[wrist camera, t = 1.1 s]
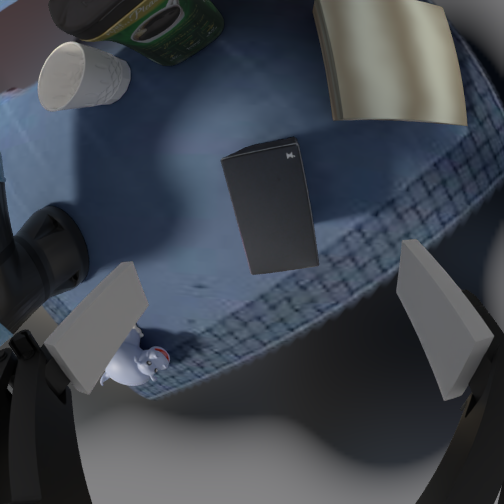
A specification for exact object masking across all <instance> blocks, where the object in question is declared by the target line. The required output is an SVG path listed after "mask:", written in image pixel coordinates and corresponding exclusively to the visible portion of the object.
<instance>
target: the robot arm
mask: <svg viewBox="0 0 504 504" xmlns="http://www.w3.org/2000/svg"><path fill="white" fill-rule="evenodd" d="M5 182H6V178H5V177H4V172H3V164H2V156H1V153H0V346H1V345H2V344H3V343H5V342H6V341H7V340H8V339H9V338H10V337H12V338H11V340H10V342H9V345H10V347H11V348H12V350H13V351H14V353H15V354H16V355H15V354H14V353H13V351H12V350H11V349H10V348H5V349H2V351H0V504H92V502H91V498H90V495H89V492H88V488H87V484H86V481H85V476H84V473H83V468H82V464H81V459H80V455H79V449H78V443H77V437H76V431H75V424H74V417H73V407H72V396H71V390H70V389H69V387H68V386H67V385H68V384H69V383H70V382H71V383H72V384H73V385H74V387H75V388H76V389H77V390H78V391H80V392H83V393H86V394H90V392H91V391H92V389H93V388H94V386H95V384H96V383H97V381H98V380H99V378H100V376H101V375H102V373H103V372H104V370H105V369H106V367H107V366H108V364H109V363H110V361H111V359H112V358H113V356H114V355H115V353H116V352H117V350H118V349H119V347H120V346H121V344H122V343H123V341H124V340H125V339H126V337H127V336H128V334H129V333H130V331H131V330H132V328H133V327H134V325H135V324H136V323H137V321H138V320H139V318H140V317H141V315H142V314H143V313H144V311H145V310H146V308H147V307H148V305H149V304H148V301H147V299H146V296H145V294H144V291H143V288H142V286H141V283H140V280H139V278H138V275H137V272H136V269H135V266H134V263H133V261H131V262H121V263H120V264H119V265H118V266H117V267H116V268H115V269H114V270H113V271H112V272H111V273H110V274H109V275H108V276H107V277H106V278H105V279H104V280H103V281H102V282H100V283H99V284H98V285H97V286H96V287H95V288H94V289H93V290H92V291H91V292H90V293H89V294H88V295H87V296H86V297H85V298H84V299H83V301H82V302H81V303H80V304H79V305H78V306H77V307H76V308H75V309H74V310H73V311H72V312H71V313H70V314H69V315H68V316H67V317H66V318H65V319H64V321H63V322H62V323H61V324H60V325H59V326H58V327H57V328H56V329H55V331H53V333H52V334H51V335H50V336H49V337H48V338H47V339H46V341H45V342H44V344H43V346H42V347H41V348H40V347H39V345H38V344H37V342H36V341H35V339H34V337H33V336H32V334H31V332H30V331H29V330H22V331H20V332H18V333H16V334H15V335H14V336H13V334H14V333H15V332H16V331H17V330H18V329H19V327H21V326H22V324H23V323H24V322H25V321H26V320H27V319H28V318H29V317H30V316H31V315H32V314H33V313H34V312H35V311H36V310H37V309H38V308H39V307H40V306H41V305H42V304H43V303H44V302H45V301H46V300H47V299H49V298H50V297H53V296H55V295H58V294H61V293H63V292H66V291H69V290H72V289H74V288H75V287H77V286H78V285H79V284H80V283H81V282H82V281H83V280H84V279H85V277H86V276H87V273H88V268H89V257H88V251H87V247H86V244H85V241H84V239H83V236H82V234H81V232H80V230H79V229H78V227H77V225H76V224H75V222H74V221H73V220H72V219H71V218H70V216H69V215H68V214H66V213H65V212H64V211H63V210H61V209H59V208H57V207H54V206H47V207H44V208H42V209H40V210H38V211H36V212H35V213H34V214H33V215H32V216H31V217H30V218H29V219H28V220H27V221H26V223H25V224H24V225H23V226H22V228H21V229H20V230H19V231H18V232H17V234H16V235H15V236H13V233H12V228H11V223H10V218H9V212H8V206H7V199H6V191H5ZM396 292H397V294H398V296H399V298H400V300H401V302H402V304H403V306H404V308H405V310H406V312H407V314H408V316H409V318H410V320H411V322H412V324H413V326H414V328H415V331H416V333H417V335H418V337H419V339H420V342H421V344H422V346H423V348H424V351H425V353H426V355H427V358H428V360H429V362H430V365H431V367H432V370H433V372H434V375H435V377H436V380H437V383H438V385H439V388H440V391H441V393H442V396H443V399H444V401H445V400H449V399H452V398H455V397H458V396H461V395H462V394H463V392H464V391H465V389H466V388H467V386H468V384H469V386H470V388H471V391H472V393H471V394H470V396H469V397H468V399H467V400H466V402H465V403H464V404H463V406H462V407H461V409H460V410H461V411H462V410H463V409H464V408H465V409H464V412H463V414H462V417H461V419H460V422H459V424H458V427H457V429H456V431H455V434H454V436H453V438H452V440H451V442H450V445H449V447H448V449H447V451H446V453H445V455H444V457H443V459H442V461H441V462H440V464H439V466H438V468H437V470H436V472H435V473H434V475H433V477H432V478H431V480H430V482H429V484H428V485H427V487H426V488H425V490H424V492H423V493H422V495H421V496H420V498H419V499H418V501H417V502H416V504H494V502H495V500H496V498H497V496H498V493H499V491H500V488H501V486H502V488H501V492H500V496H499V500H498V504H504V333H503V332H502V330H501V329H500V327H499V326H498V325H497V323H496V322H495V320H494V319H493V318H492V316H491V315H490V314H489V313H488V311H487V310H486V308H485V307H484V306H483V304H482V303H481V302H480V300H479V299H478V298H477V297H476V296H475V295H474V294H472V293H471V292H469V291H468V290H460V288H459V287H458V286H457V285H456V284H455V282H454V281H453V280H452V279H451V278H450V276H449V275H448V274H447V273H446V271H445V270H444V269H443V268H442V267H441V266H440V265H439V264H438V262H437V261H436V260H435V259H434V258H433V257H432V256H431V255H430V253H429V252H428V251H427V250H426V249H425V248H424V247H423V246H422V245H421V244H420V243H419V241H418V240H417V239H413V240H402V247H401V258H400V267H399V276H398V283H397V290H396ZM8 384H9V385H10V386H11V387H12V388H13V393H12V394H11V393H10V392H9V391H8V389H7V386H8Z"/></svg>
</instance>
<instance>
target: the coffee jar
mask: <svg viewBox="0 0 504 504" xmlns="http://www.w3.org/2000/svg"><path fill="white" fill-rule="evenodd" d="M48 6H49V11H50V14H51V17H52V19H53V21H54V23H55V24H56V26H57V27H59V28H60V29H61V30H63V31H64V32H66V33H68V34H70V35H73V36H75V37H77V38H79V39H81V40H83V41H89V42H95V41H113V42H117V43H120V44H123V45H125V46H127V47H129V48H131V49H133V50H135V51H137V52H139V53H140V54H142V55H144V56H145V57H147V58H149V59H150V60H152V61H154V62H156V63H158V64H161V65H164V66H172V65H176V64H178V63H180V62H182V61H184V60H186V59H187V58H189V57H191V56H192V55H194V54H195V53H197V52H198V51H200V50H201V49H203V48H204V47H206V46H207V45H208V44H210V43H211V42H212V41H213V40H215V39H216V38H217V37H218V36H219V35H220V34H221V32H222V30H223V27H224V20H223V17H222V15H221V14H220V12H219V11H218V9H217V8H216V7H215V6H214V4H213V3H212V2H211V1H210V0H50V1H49V4H48Z"/></svg>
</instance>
